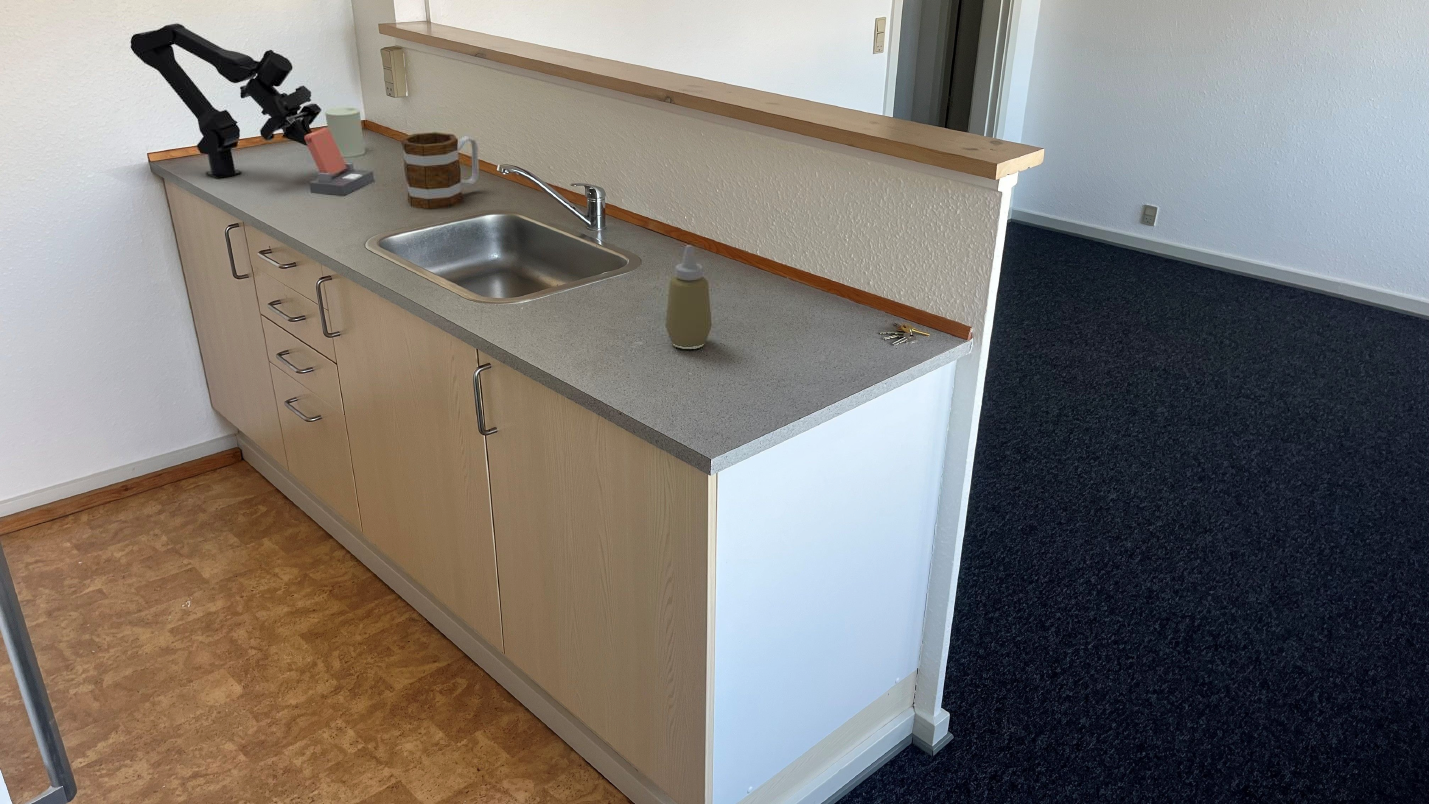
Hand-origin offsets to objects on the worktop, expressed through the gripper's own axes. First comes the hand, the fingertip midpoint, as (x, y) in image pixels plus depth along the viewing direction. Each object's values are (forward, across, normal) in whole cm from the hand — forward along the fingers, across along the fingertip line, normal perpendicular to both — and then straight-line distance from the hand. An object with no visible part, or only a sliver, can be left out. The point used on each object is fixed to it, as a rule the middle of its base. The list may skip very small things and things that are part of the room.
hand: (316, 147), depth 262 cm
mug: (+32, -1, -18) cm, 36 cm away
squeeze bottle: (+89, -66, -74) cm, 133 cm away
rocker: (+8, 0, +2) cm, 8 cm away
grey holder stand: (+11, 0, +3) cm, 11 cm away
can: (-1, +29, +14) cm, 32 cm away
